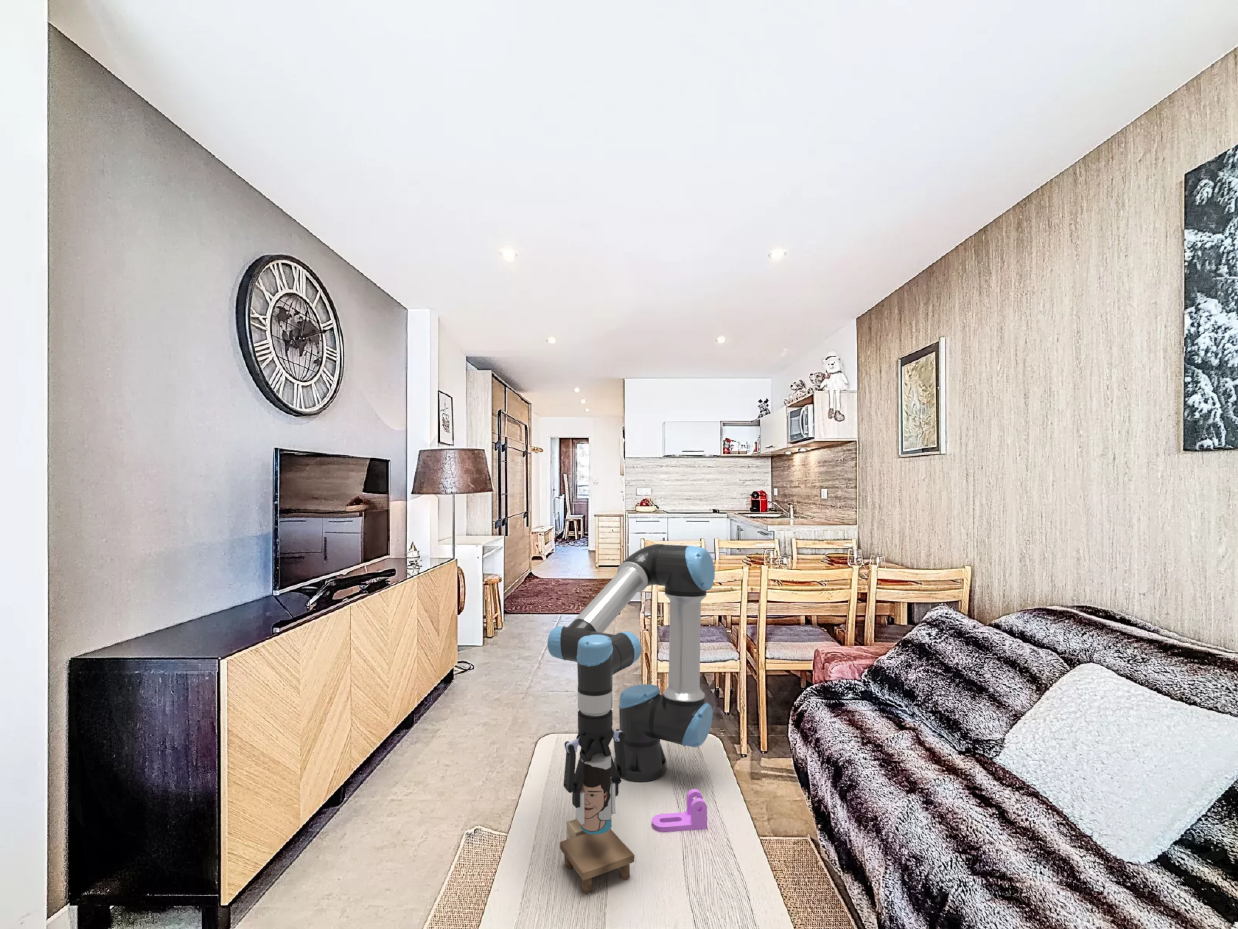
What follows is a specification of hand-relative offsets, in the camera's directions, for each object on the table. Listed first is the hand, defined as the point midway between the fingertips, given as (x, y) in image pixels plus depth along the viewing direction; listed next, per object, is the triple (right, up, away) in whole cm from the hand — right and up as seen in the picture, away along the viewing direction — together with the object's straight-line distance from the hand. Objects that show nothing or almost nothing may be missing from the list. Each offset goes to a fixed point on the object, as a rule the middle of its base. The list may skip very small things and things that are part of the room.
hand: (595, 815), depth 135 cm
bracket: (+19, -12, +17) cm, 29 cm away
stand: (0, -12, 0) cm, 12 cm away
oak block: (-4, -12, +9) cm, 16 cm away
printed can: (0, -2, 0) cm, 2 cm away
